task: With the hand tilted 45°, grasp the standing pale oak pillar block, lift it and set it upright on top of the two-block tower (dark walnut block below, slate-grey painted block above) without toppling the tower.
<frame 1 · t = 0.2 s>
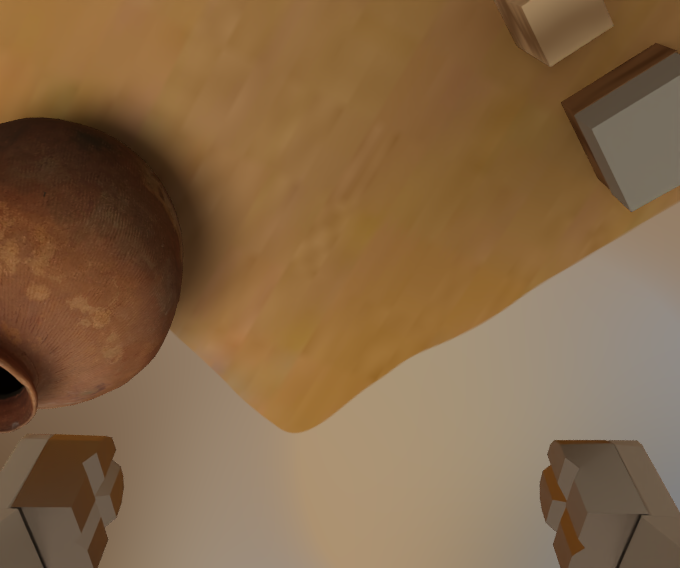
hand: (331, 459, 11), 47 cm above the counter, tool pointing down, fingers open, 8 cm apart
walnut block: (623, 113, 56), on the counter
pottery: (87, 211, 60), on the counter
slate block: (641, 127, 53), point 4 cm above the counter
oak pillar: (530, 2, 51), on the counter
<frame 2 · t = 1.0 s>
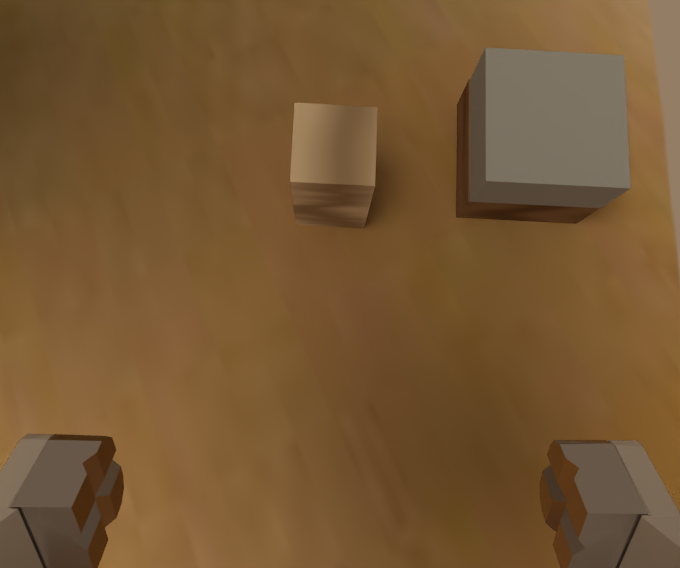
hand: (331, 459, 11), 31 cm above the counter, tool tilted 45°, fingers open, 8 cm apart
walnut block: (514, 164, 46), on the counter, touching slate block
slate block: (534, 142, 42), point 4 cm above the counter, touching walnut block
oak pillar: (331, 193, 44), on the counter
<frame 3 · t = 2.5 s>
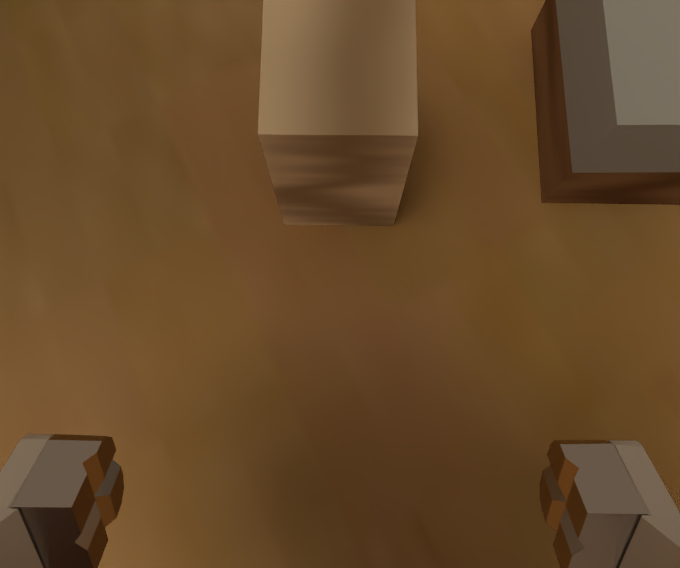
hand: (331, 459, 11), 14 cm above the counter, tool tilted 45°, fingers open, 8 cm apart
walnut block: (627, 118, 29), on the counter, touching slate block
slate block: (670, 71, 25), point 4 cm above the counter, touching walnut block
oak pillar: (339, 174, 28), on the counter
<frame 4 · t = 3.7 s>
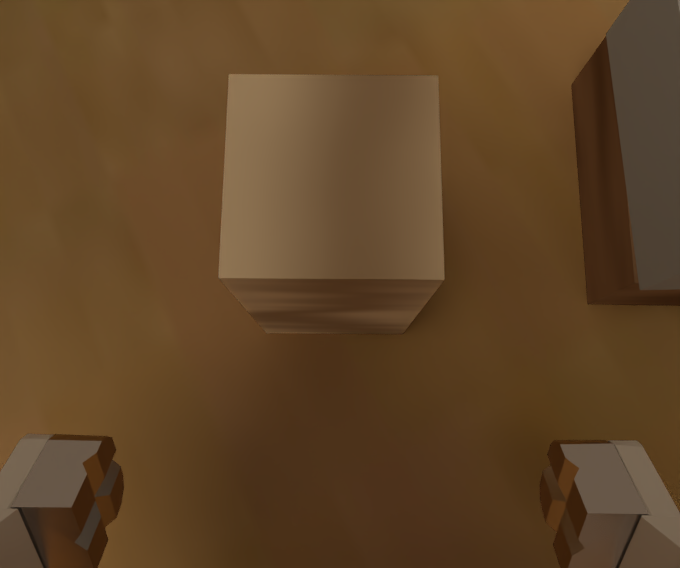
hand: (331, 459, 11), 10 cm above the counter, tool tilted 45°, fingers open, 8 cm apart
oak pillar: (335, 267, 23), on the counter
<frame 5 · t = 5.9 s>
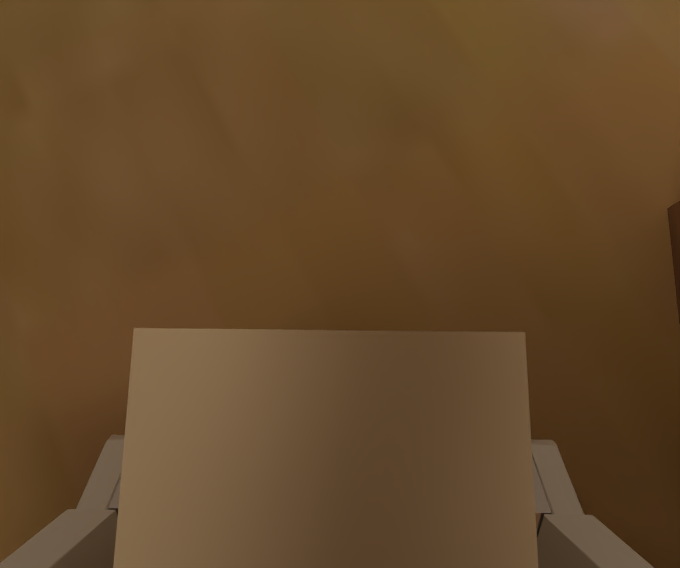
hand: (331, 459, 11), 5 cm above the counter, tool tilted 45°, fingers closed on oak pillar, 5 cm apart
oak pillar: (334, 471, 16), on the counter, touching gripper
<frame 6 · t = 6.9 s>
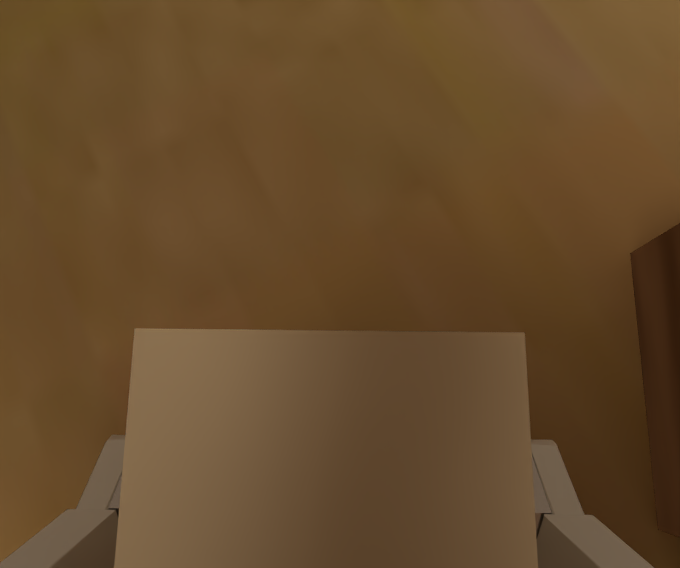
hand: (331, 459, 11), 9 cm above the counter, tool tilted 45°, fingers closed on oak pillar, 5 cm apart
oak pillar: (334, 471, 16), point 4 cm above the counter, touching gripper
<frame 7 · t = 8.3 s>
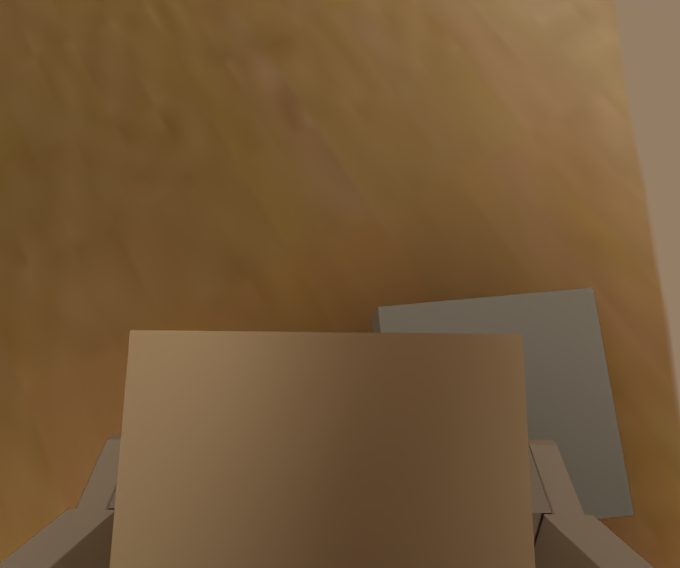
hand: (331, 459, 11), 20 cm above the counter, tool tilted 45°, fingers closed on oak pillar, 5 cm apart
slate block: (477, 407, 28), point 4 cm above the counter, touching walnut block
oak pillar: (332, 473, 16), point 15 cm above the counter, touching gripper
when the fingers open (14 cm above the counter, at t = 10.4 s): oak pillar drops 2 cm, resting on slate block.
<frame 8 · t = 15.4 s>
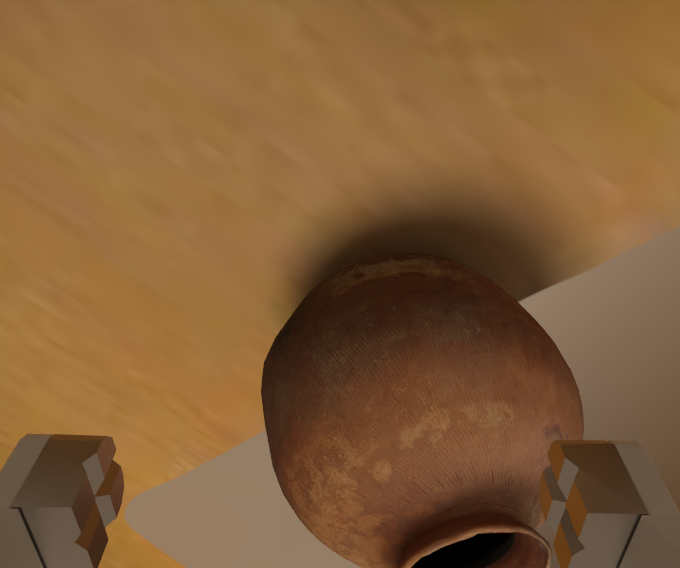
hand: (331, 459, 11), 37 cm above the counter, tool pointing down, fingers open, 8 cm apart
pottery: (404, 323, 56), on the counter
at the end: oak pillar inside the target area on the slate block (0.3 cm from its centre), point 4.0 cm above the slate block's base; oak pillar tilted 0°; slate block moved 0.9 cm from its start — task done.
